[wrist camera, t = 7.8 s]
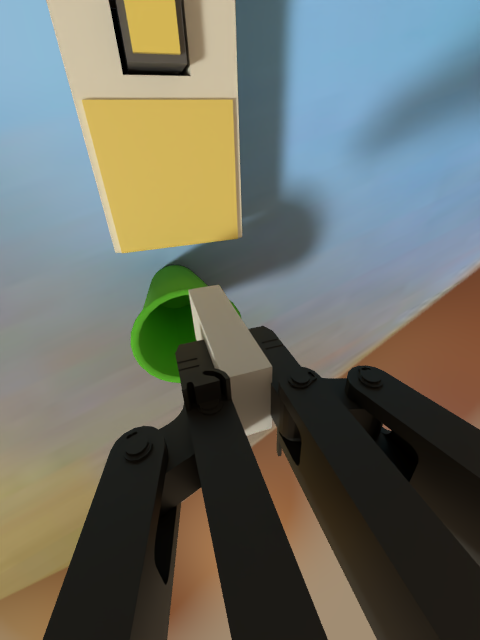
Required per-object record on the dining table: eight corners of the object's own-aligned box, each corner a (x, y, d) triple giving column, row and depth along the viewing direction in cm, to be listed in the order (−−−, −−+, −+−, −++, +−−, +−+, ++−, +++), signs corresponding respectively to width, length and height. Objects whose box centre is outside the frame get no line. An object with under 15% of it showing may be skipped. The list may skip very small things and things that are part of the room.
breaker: (116, 15, 20) (110, -31, 15) (168, 18, 21) (179, -24, 16) (129, 81, 22) (127, 60, 17) (175, 81, 23) (187, 62, 18)
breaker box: (-23, -303, 14) (-96, -512, 9) (201, -237, 16) (225, -376, 12) (118, 237, 27) (115, 254, 23) (227, 225, 30) (243, 237, 26)
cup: (220, 251, 31) (254, 292, 22) (207, 322, 35) (232, 381, 26) (133, 240, 28) (132, 284, 19) (130, 320, 32) (129, 387, 23)
